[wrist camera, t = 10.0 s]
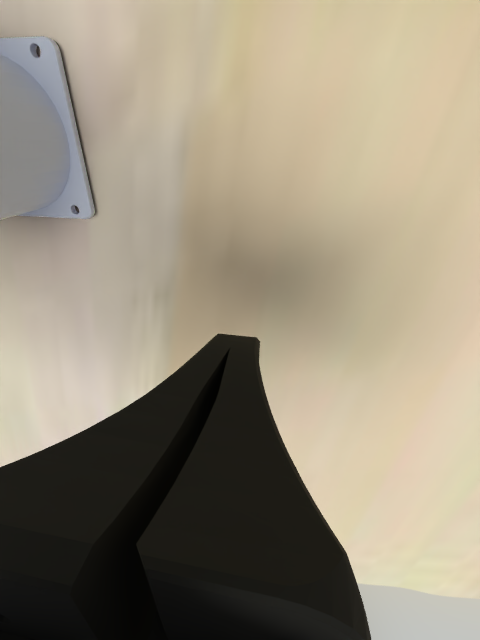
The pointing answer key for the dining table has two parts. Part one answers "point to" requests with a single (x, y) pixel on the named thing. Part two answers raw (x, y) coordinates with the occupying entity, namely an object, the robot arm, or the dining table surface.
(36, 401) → the dining table surface
